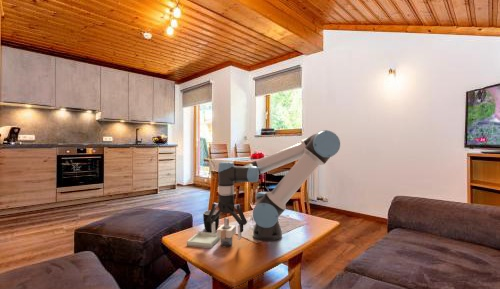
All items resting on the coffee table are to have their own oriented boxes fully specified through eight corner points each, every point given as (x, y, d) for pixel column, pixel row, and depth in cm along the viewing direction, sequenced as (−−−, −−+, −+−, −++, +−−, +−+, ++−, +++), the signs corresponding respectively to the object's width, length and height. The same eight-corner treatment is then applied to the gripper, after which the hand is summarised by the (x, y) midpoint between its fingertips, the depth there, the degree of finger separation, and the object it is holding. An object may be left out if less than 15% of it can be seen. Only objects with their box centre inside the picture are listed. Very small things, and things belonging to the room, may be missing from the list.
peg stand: (234, 242, 122) (233, 216, 122) (230, 247, 117) (229, 220, 116) (223, 241, 123) (223, 215, 123) (219, 246, 118) (218, 219, 118)
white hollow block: (222, 231, 124) (222, 224, 124) (235, 232, 122) (235, 225, 122) (215, 237, 116) (215, 230, 116) (229, 239, 114) (229, 231, 114)
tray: (221, 238, 128) (221, 233, 128) (210, 248, 116) (210, 243, 116) (199, 235, 131) (198, 231, 131) (186, 245, 119) (186, 241, 119)
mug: (221, 231, 137) (221, 213, 136) (205, 234, 133) (204, 215, 133) (216, 224, 148) (216, 208, 148) (201, 226, 145) (201, 209, 144)
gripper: (253, 193, 120) (253, 236, 120) (206, 190, 126) (206, 232, 127) (248, 197, 113) (249, 243, 113) (199, 194, 119) (199, 237, 120)
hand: (226, 237), depth 120 cm, fingers open, 13 cm apart
